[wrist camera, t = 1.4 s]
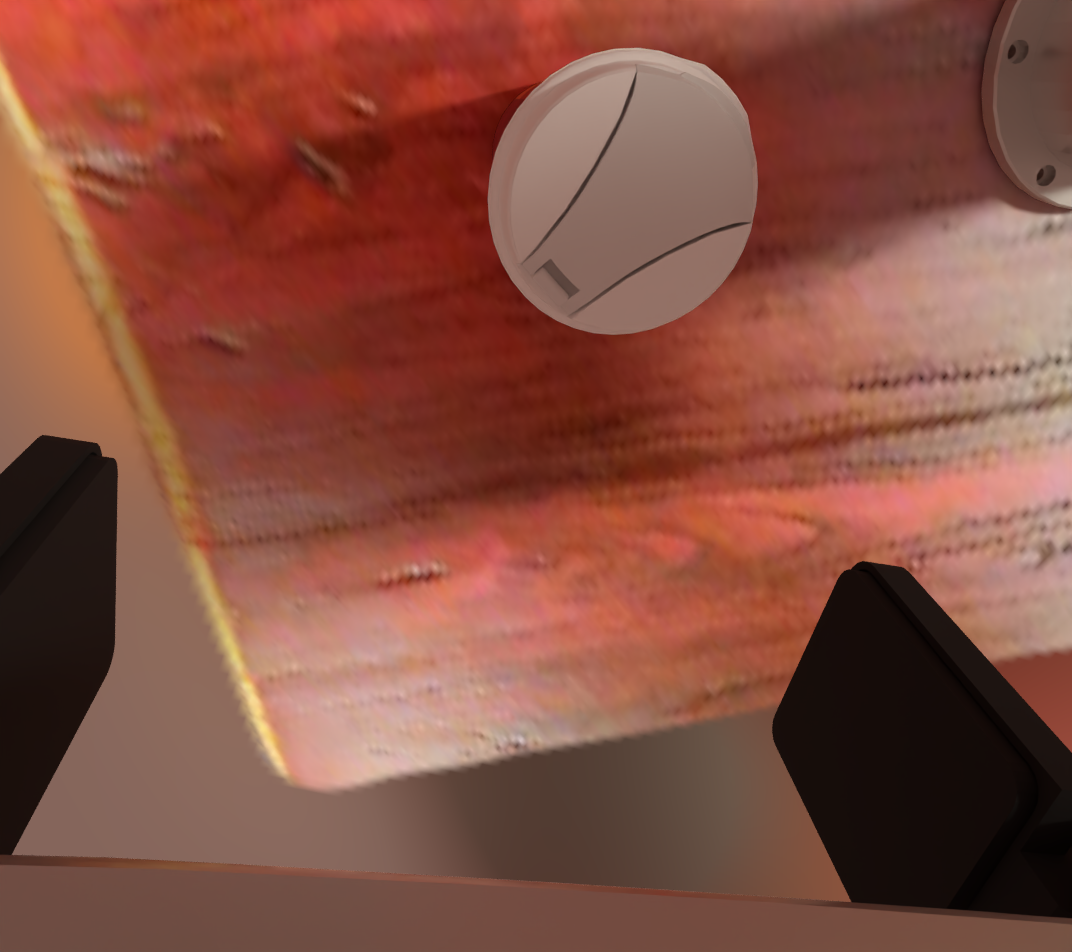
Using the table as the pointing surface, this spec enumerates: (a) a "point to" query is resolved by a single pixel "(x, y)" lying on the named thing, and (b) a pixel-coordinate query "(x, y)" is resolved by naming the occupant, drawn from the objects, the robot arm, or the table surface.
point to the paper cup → (622, 189)
